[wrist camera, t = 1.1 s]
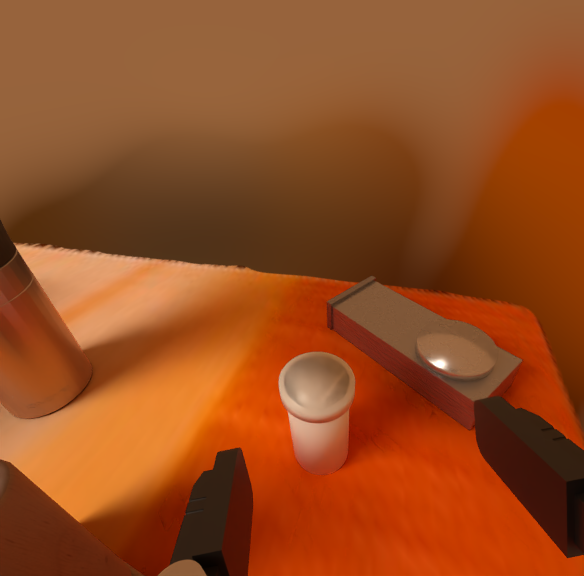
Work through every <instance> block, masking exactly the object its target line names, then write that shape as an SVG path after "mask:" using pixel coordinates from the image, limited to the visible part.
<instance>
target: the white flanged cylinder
mask: <svg viewBox="0 0 584 576" xmlns="http://www.w3.org/2000/svg"><path fill="white" fill-rule="evenodd" d="M279 391H280V396H281V400H282V403H283V405H284V407H285V408H286V410H287V411H288V416H289V422H290V428H291V435H292V441H293V448H294V454H295V457H296V459H297V461H298V463H299V464H300V465H301V467H302V468H304V469H305V470H306V471H308V472H310V473H312V474H316V475H327V474H331V473H333V472H335V471H337V470H338V469H340V468H341V467H342V465H343V464H344V463H345V461H346V458H347V455H348V438H349V408H350V407H351V405H352V403H353V400H354V396H355V377H354V374H353V371H352V369H351V368H350V366H349V365H348V364H347V363H346V362H345V361H344V360H342V359H341V358H339V357H338V356H335V355H333V354H330V353H326V352H309V353H304V354H301V355H299V356H297V357H295V358H293V359H292V360H290V361H289V362H288V363H287V364H286V365H285V366H284V368H283V369H282V371H281V373H280V376H279Z"/></svg>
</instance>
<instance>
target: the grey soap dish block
mask: <svg viewBox="0 0 584 576" xmlns="http://www.w3.org/2000/svg"><path fill="white" fill-rule="evenodd" d="M327 327H328V328H330V329H331V330H332V329H333V330H334V331H336V332H337V333H338V334H340V335H341V336H342V337H344V338H345V339H346V340H348V341H349V342H350V343H352V344H353V345H355V346H356V347H357V348H359V349H360V350H361V351H363V352H364V353H365V354H367V355H368V356H369V357H371V358H372V359H373V360H375V361H376V362H378V363H379V364H380V365H382V366H383V367H384V368H386V369H387V370H388V371H390V372H391V373H392V374H394V375H395V376H396V377H398V378H399V379H401V380H402V381H403V382H405V383H406V384H407V385H409V386H410V387H411V388H413V389H414V390H415V391H417V392H418V393H419V394H421V395H422V396H424V397H425V398H426V399H428V400H429V401H430V402H432V403H433V404H434V405H436V406H437V407H438V408H440V409H441V410H442V411H444V412H445V413H447V414H448V415H449V416H451V417H452V418H453V419H455V420H456V421H457V422H459V423H460V424H461V425H463V426H464V427H465V428H467V429H468V430H471V429H472V427H473V426H474V425H475V417H474V402H475V400H479V399H484V398H489V397H494V396H500V397H501V396H502V395H503V394H504V393H505V391H506V390H507V389H508V388H509V387H510V386H511V384H512V382H513V380H514V378H515V376H516V374H517V371H518V369H519V367H520V365H521V363H522V361H523V360H522V359H520V358H518V357H516V356H514V355H512V354H511V353H509V352H507V351H505V350H503V349H501V348H499V347H497V346H496V345H495V343H494V342H493V340H492V339H491V338H490V337H489V336H488V335H487V334H486V333H485V332H483V331H482V330H480V329H479V328H477V327H475V326H473V325H471V324H468V323H465V322H461V321H457V320H447V319H445V318H443V317H441V316H439V315H438V314H436V313H434V312H432V311H430V310H428V309H426V308H424V307H423V306H421V305H419V304H417V303H415V302H413V301H411V300H410V299H408V298H406V297H404V296H402V295H400V294H398V293H396V292H395V291H393V290H391V289H389V288H387V287H385V286H383V285H381V284H380V283H378V282H376V278H375V277H373V276H370V277H368V278H367V279H365V280H363V281H361V282H360V283H358V284H356V285H355V286H353V287H351V288H349V289H348V290H346V291H344V292H343V293H341V294H339V295H337V296H336V297H334V298H332V299H330V300H329V301H327Z"/></svg>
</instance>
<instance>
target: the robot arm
mask: <svg viewBox="0 0 584 576" xmlns="http://www.w3.org/2000/svg"><path fill="white" fill-rule="evenodd" d="M91 375H92V366H91V363H90V362H89V360H88V359H87V357H86V355H85V354H84V352H83V351H82V349H81V348H80V346H79V345H78V343H77V341H76V340H75V338H74V337H73V335H72V333H71V332H70V330H69V329H68V327H67V326H66V324H65V323H64V321H63V320H62V318H61V316H60V315H59V313H58V312H57V310H56V309H55V307H54V306H53V304H52V303H51V301H50V299H49V298H48V296H47V295H46V293H45V292H44V290H43V289H42V287H41V286H40V284H39V282H38V281H37V279H36V278H35V276H34V275H33V273H32V272H31V270H30V269H29V267H28V266H27V264H26V263H25V261H24V260H23V258H22V256H21V255H20V253H19V252H18V250H17V249H16V247H15V245H14V244H13V242H12V241H11V239H10V238H9V236H8V234H7V232H6V230H5V228H4V226H3V224H2V222H1V220H0V403H1V404H2V405H3V406H4V407H5V408H6V409H7V410H8V411H9V412H10V413H11V414H12V415H14V416H15V417H18V418H26V419H30V418H36V417H40V416H43V415H47V414H49V413H51V412H54V411H56V410H58V409H59V408H61V407H63V406H65V405H66V404H68V403H69V402H70V401H72V400H73V399H74V398H75V397H76V396H77V395H78V394H79V393H81V392H82V390H83V389H84V388H85V387H86V385H87V384H88V382H89V380H90V378H91ZM474 417H475V429H476V440H477V444H478V447H479V450H480V452H481V454H482V456H483V457H484V459H485V460H486V462H487V463H488V464H489V465H490V466H491V467H492V469H493V470H494V471H495V472H496V473H497V475H498V476H499V477H500V478H501V479H502V481H503V482H504V483H505V484H506V485H507V487H508V488H509V489H510V490H511V491H512V493H513V494H514V495H515V496H516V497H517V499H518V500H519V501H520V502H521V503H522V504H523V506H524V507H525V508H526V509H527V510H528V512H529V513H530V514H531V515H532V516H533V518H534V519H535V520H536V521H537V522H538V524H539V525H540V526H541V527H542V528H543V530H544V531H545V532H546V533H547V534H548V536H549V537H550V538H551V539H552V540H553V541H554V543H555V544H556V545H557V546H558V547H559V549H560V550H561V551H562V552H563V553H564V555H565V556H566V557H567V558H570V557H575V556H580V555H584V450H582V449H581V448H580V447H578V446H577V445H576V444H575V443H573V442H572V441H571V440H569V439H566V437H565V436H564V435H563V434H562V433H560V432H559V431H558V430H557V429H554V428H553V426H551V425H550V424H549V423H548V422H546V421H545V420H544V419H543V418H541V417H540V416H538V415H536V414H534V413H531V412H529V411H527V410H525V409H522V408H518V409H515V408H514V407H513V406H512V405H510V404H509V403H508V402H507V401H506V400H504V399H503V398H502V397H500V396H494V397H489V398H484V399H479V400H475V402H474ZM185 513H186V515H185V516H184V519H183V522H182V525H181V529H180V532H179V535H178V539H177V542H176V545H175V548H174V552H173V555H172V558H171V562H170V565H169V566H168V567H167V568H165V569H164V570H163V571H162V572H161V573H160V574H159V575H158V576H248V563H249V551H250V538H251V526H252V513H253V493H252V487H251V482H250V479H249V475H248V471H247V468H246V464H245V460H244V456H243V453H242V450H241V448H235V449H230V450H225V451H220V452H218V453H217V456H216V460H215V464H214V468H213V470H209V471H204V472H203V473H202V474H201V476H200V477H199V479H198V480H197V481H196V483H195V484H194V486H193V489H192V492H191V496H190V499H189V503H188V506H187V509H186V512H185Z"/></svg>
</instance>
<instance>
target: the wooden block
mask: <svg viewBox="0 0 584 576" xmlns="http://www.w3.org/2000/svg"><path fill="white" fill-rule="evenodd" d="M0 576H145V575H143V574H142V573H140V572H139V571H137V570H136V569H135V568H133V567H132V566H130V565H129V564H128V563H126V562H125V561H123V560H122V559H121V558H119V557H118V556H117V555H116V554H114V553H113V552H112V551H111V550H110V549H109V548H108V547H106V546H105V545H104V544H103V543H102V542H101V541H99V540H98V539H97V538H96V537H95V536H94V535H93V534H91V533H90V532H89V531H88V530H87V529H86V528H85V527H83V526H82V525H81V524H80V523H79V522H78V521H77V520H75V519H74V518H73V517H72V516H71V515H70V514H69V513H67V512H66V511H65V510H64V509H63V508H62V507H61V506H59V505H58V504H57V503H56V502H55V501H54V500H52V499H51V498H50V497H49V496H48V495H47V494H46V493H44V492H43V491H42V490H41V489H40V488H39V487H38V486H36V485H35V484H34V483H33V482H32V481H31V480H30V479H28V478H27V477H26V476H25V475H24V474H23V473H22V472H20V471H19V470H18V469H17V468H16V467H15V466H14V465H12V464H11V463H10V462H7V461H4V460H1V459H0Z"/></svg>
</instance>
